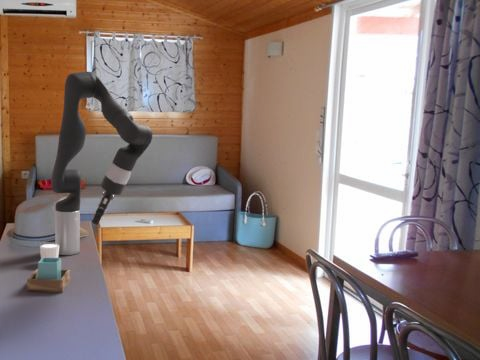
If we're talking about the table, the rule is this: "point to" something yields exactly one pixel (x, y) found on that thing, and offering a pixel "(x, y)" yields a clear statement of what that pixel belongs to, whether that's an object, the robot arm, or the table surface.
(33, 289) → the walnut crate
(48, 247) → the white cylinder
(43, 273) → the teal crate
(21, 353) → the table surface
